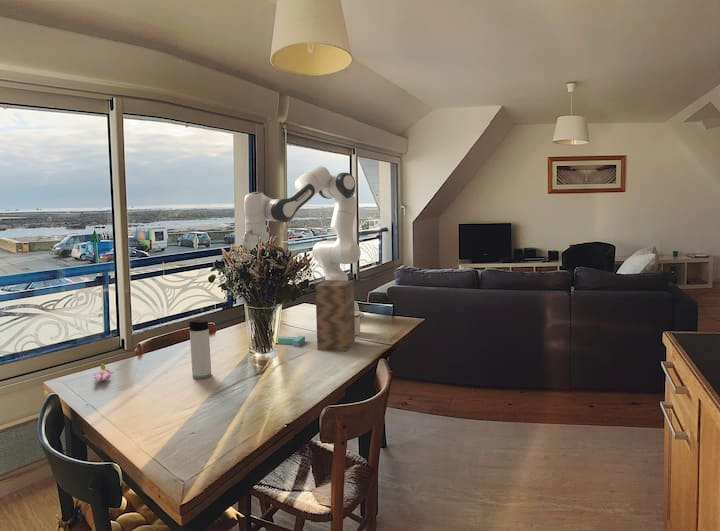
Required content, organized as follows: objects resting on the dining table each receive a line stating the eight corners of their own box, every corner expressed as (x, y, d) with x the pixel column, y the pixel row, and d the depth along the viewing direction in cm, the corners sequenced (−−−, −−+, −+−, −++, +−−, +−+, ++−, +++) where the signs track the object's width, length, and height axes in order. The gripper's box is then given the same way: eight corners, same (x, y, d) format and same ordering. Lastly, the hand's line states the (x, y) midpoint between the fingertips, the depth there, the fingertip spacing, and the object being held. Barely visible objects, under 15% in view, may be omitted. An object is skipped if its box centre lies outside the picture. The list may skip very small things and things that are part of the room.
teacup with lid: (363, 331, 231) (363, 306, 229) (355, 337, 223) (355, 310, 221) (339, 329, 236) (339, 304, 234) (330, 334, 227) (330, 308, 226)
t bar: (256, 344, 214) (256, 339, 214) (264, 339, 222) (264, 334, 222) (298, 347, 210) (298, 341, 210) (305, 341, 218) (304, 335, 217)
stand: (317, 349, 205) (315, 285, 202) (327, 340, 219) (325, 279, 215) (346, 351, 202) (345, 286, 199) (354, 341, 216) (353, 280, 212)
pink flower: (95, 379, 180) (90, 386, 166) (94, 362, 180) (89, 368, 166) (115, 376, 183) (112, 383, 169) (114, 359, 183) (110, 365, 169)
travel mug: (188, 379, 174) (184, 321, 172) (197, 372, 181) (194, 317, 178) (206, 380, 173) (202, 322, 170) (214, 373, 180) (211, 317, 177)
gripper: (251, 231, 213) (253, 264, 215) (271, 228, 232) (272, 258, 234) (237, 231, 214) (239, 264, 216) (258, 228, 234) (259, 258, 236)
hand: (256, 261), depth 225 cm, fingers open, 8 cm apart
